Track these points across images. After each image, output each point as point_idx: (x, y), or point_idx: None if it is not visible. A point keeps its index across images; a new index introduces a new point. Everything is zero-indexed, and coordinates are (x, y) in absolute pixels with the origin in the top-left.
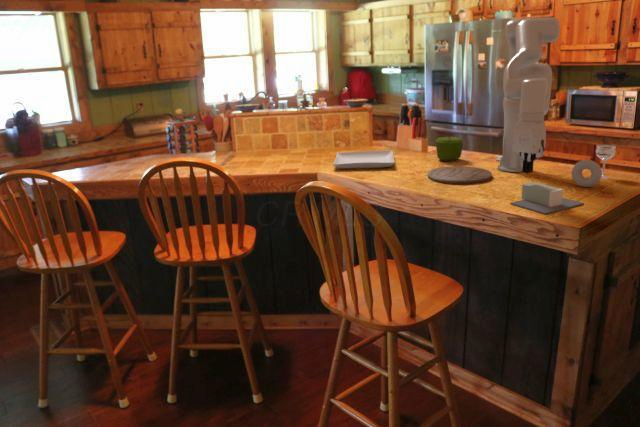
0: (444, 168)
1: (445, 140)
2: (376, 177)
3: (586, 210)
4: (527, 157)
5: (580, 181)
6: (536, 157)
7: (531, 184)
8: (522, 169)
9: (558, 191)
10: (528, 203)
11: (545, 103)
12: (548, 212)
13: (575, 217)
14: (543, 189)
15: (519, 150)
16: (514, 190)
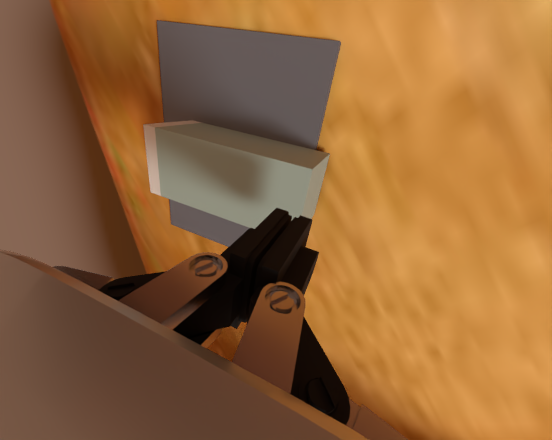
0: None
1: None
2: None
3: (140, 173)
4: (201, 290)
5: None
6: (106, 277)
7: (275, 196)
8: (305, 226)
9: (151, 163)
10: (269, 101)
11: None
12: (159, 43)
13: (108, 81)
14: (187, 138)
15: (240, 394)
16: (430, 279)
